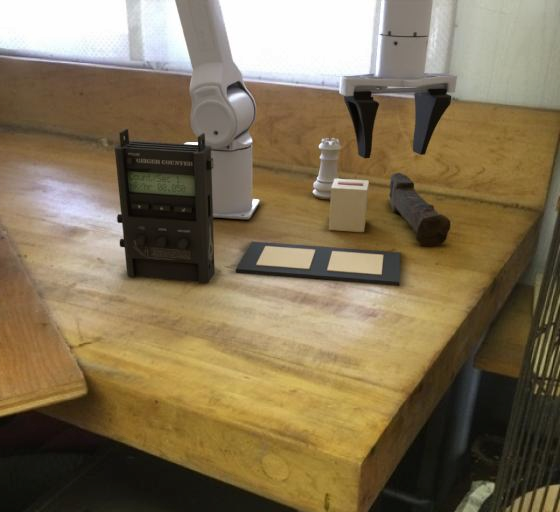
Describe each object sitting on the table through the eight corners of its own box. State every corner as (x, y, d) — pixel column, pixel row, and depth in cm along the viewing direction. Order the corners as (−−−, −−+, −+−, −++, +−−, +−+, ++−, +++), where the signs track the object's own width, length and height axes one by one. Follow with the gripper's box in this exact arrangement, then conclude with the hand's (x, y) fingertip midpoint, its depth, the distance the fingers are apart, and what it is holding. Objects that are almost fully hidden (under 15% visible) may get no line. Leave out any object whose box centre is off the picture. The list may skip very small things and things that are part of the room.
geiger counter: (114, 279, 75) (98, 135, 67) (129, 264, 79) (116, 126, 71) (209, 288, 73) (204, 141, 66) (219, 271, 77) (215, 131, 70)
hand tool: (448, 247, 85) (454, 210, 83) (416, 247, 85) (421, 210, 83) (410, 201, 102) (413, 169, 99) (383, 201, 101) (386, 169, 99)
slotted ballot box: (328, 230, 90) (331, 186, 87) (332, 219, 94) (334, 177, 91) (363, 232, 89) (367, 189, 87) (365, 221, 93) (369, 179, 90)
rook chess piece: (322, 189, 106) (325, 135, 102) (348, 194, 104) (351, 139, 100) (306, 196, 103) (308, 140, 99) (332, 201, 100) (335, 145, 96)
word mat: (235, 272, 77) (235, 268, 77) (251, 244, 85) (251, 240, 85) (399, 285, 75) (399, 281, 75) (400, 255, 83) (400, 251, 82)
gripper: (360, 38, 75) (351, 166, 82) (477, 37, 79) (459, 158, 86) (335, 32, 81) (329, 152, 88) (445, 32, 85) (431, 146, 92)
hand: (391, 154), depth 87 cm, fingers open, 7 cm apart
